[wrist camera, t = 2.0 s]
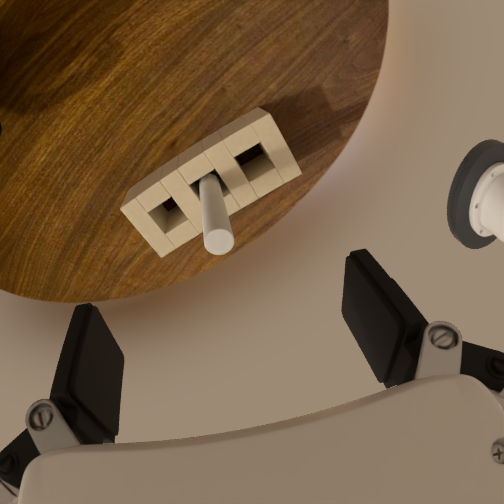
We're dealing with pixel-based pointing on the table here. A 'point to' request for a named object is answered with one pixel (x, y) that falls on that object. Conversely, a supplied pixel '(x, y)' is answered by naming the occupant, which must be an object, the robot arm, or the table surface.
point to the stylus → (214, 215)
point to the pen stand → (199, 164)
